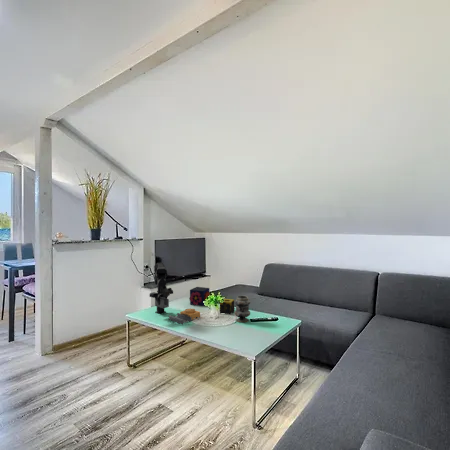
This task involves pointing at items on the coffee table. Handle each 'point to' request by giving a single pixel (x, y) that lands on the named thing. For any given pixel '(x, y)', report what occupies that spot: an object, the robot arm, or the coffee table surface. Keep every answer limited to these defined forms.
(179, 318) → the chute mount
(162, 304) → the chute
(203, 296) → the decorative cube
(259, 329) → the coffee table surface
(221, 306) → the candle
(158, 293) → the robot arm
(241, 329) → the coffee table surface
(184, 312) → the brown low lump
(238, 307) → the stone urn vase
